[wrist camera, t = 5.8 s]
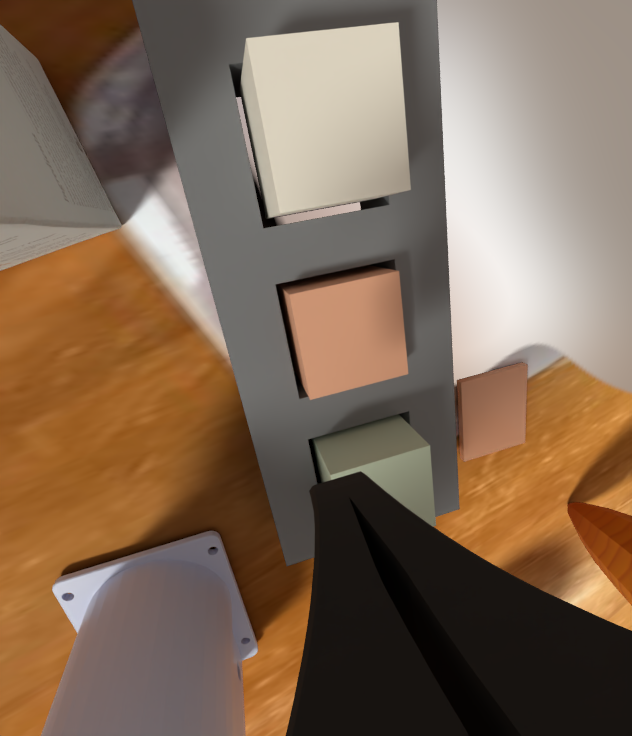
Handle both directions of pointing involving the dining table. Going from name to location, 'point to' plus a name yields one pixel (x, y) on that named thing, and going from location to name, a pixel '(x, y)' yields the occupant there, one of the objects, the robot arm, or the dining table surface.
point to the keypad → (309, 238)
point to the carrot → (606, 541)
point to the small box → (42, 166)
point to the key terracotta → (344, 328)
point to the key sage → (382, 461)
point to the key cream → (326, 117)
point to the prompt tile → (492, 411)
